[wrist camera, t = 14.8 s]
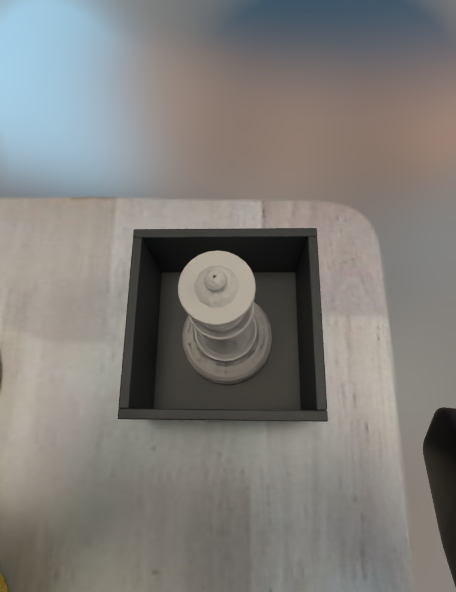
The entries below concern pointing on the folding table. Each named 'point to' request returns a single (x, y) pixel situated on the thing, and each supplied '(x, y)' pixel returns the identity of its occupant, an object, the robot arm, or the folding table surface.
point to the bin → (171, 316)
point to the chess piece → (223, 318)
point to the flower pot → (3, 584)
